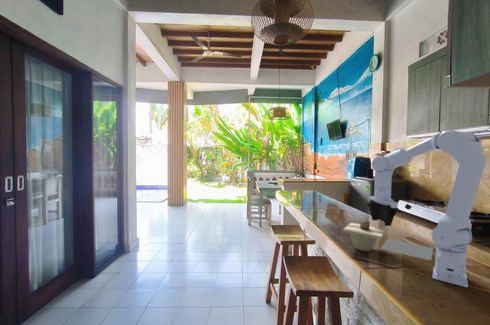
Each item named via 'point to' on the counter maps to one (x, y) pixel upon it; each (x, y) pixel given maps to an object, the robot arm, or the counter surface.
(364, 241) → the beige bowl
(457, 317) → the counter surface
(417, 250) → the mat
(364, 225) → the lid
